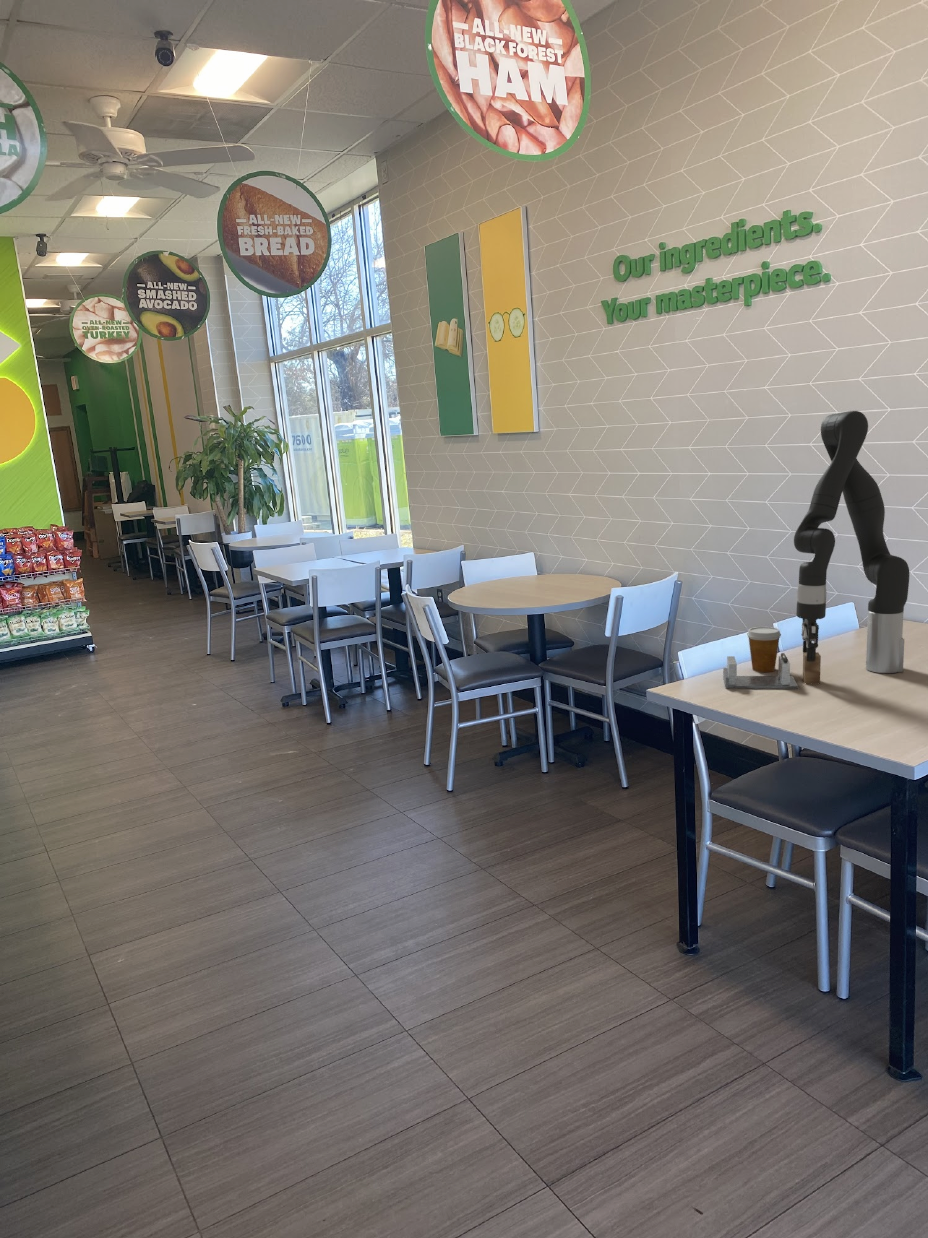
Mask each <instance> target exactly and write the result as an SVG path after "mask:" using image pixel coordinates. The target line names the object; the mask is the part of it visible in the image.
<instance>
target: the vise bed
mask: <svg viewBox="0 0 928 1238" xmlns="http://www.w3.org/2000/svg"><path fill="white" fill-rule="evenodd" d="M737 663H738V662H737V660H736V657H735V656H726V665H727V666H726V667H723V668H722V669H723V671H722V677H723V678H722V680H723V683H724V688H725V689H728V690H729V689H730V690H734V689H735V690H736V689H737V690H739V689H741V690H743V689H745V690H749V689H751V690H753V689H754V690H755V689H756V690H784V689H785V690H798V689H799V685H798V684H797V682H796V680H795V678H794V676H793V675H790V685H782V684H781V681H780V679H779V677H778V675H737V673H738V672H737V671H738V670H737V668H738V667H737V666H738V664H737Z"/></svg>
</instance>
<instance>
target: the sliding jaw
mask: <svg viewBox="0 0 928 1238" xmlns="http://www.w3.org/2000/svg"><path fill="white" fill-rule="evenodd" d="M777 670H778V673H777V676H778V677H779V679H780V681H781V684H782V685H790V676H791V663H790V661H789V659H788V657H787V655H786V654H785V652H782V653H781V654H780V655H778V669H777Z"/></svg>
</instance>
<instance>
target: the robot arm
mask: <svg viewBox="0 0 928 1238" xmlns="http://www.w3.org/2000/svg"><path fill="white" fill-rule="evenodd" d="M868 431H869V421H868V419H867V416H866V415H865V414H864V413H863V412H861V411H859V410H850V411H849V410H848V411H844V412H839V413H834V414H833V413H832V414H830V415H827V416H826V417H825V418H823V421H822V422H821V426H820V435H821V440H822V442H823V445H824V447H825V450H826V451H827V455H828V457H829V458H830V461H831V463H830V464H829V465H828V467H827V469H826V470H825V471H824V472H823V475H821V477H820V478H819V480H818V481H817V484H816V486H815V487H814V490H813V494H812V497H811V500H810V504H809V507H808V510H807V512H806V514H805V515H804V517H803V518H802V520H801V522H800V524H799V526H798V527H797V529H796V530H795V533H794V536H793V545H794V548H795V549H796V551H798V552H800V553H803V554H812V555H813V554H814V557H813V559H812V561H806V562H802V563H800V566H799V569H798V585H797V591H796V613H795V614H796V617H797V618H799V619H802V623H801V628H802V629H801V639H802V654H803V653H807V661H808V662H814V661H815V657H816V652H817V650H816V649H817V648H819V630H820V627H819V626H820V625H819V624H818V622H817V620H822V619H824V618H825V617H826V615H827V614H826V611H827V595H828V593H827V575H828V573H827V571H828V568H829V565H830V562H831V561H830V560H831V557H832V555H833V552H834V550H835V546H836V538H835V535H834V533H833V531H832V530H831V529H829V528H825V527H820V526H821V525H822V524H823V523H827V522H831V521H833V520H834V519H835V518H836V516H837V513H838V512H837V511H838V508H839V504H840V502H841V501H840V500H841V498H842V497H841V496H842V495H843V499H844V503H845V506H846V508H847V512H848V515H849V518H850V521H851V525H852V528H853V530H854V534H855V536H856V541H857V542H858V546H859V551H860V557H861V563H862V567H863V572H864V575H865V577H866V579H867V580H868V581H869V582H870V583H871V584H873V585H875V586H876V588H875V595H874V598H872V599H869V601H868V603H867V624H866V625H867V627H866V628H867V629H866V648H865V649H866V651H865V652H866V653H865V655H866V657H865V669H866V670H867V671H869V672H874V673H880V674H895V673H900V672H901V673H903V672H904V662H905V661H904V658H905V638H904V637H903V636H904V635H903V632H904V630H903V629H904V612H905V611H904V610H905V606H906V603H907V601H908V596H909V587H910V586H909V585H910V567H909V564H908V562H907V561H906V560H905V559H904V558H902V557H900V556H897V555H893V554H891V552H890V550H889V548H888V546H887V542H886V539H885V535H884V523H885V516H886V514H885V513H886V512H885V511H886V510H885V503H884V500H883V497H882V492H881V490H880V486H879V484H878V483H877V481H876V480H875V478H873V476H872V475H870V473H869V472H868V471H867V470H866V469H865V468H864V466H863V465H862V464H861V463H860V461H859V460H858V459H857V457H858V455H859V453H860V451H861V449H862V446H863V444H864V443H865V440H866V437H867V435H868Z"/></svg>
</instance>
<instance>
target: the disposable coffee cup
mask: <svg viewBox="0 0 928 1238" xmlns="http://www.w3.org/2000/svg"><path fill="white" fill-rule="evenodd" d="M746 635H747V638H748V643H749V652H750V660H751V668H752V670H753V671H754V672H759V673H771V672H774V671H775V670H776V664H777V663H776V662H777V658H778V657H777V656H778V650H779V644H780V643H779V641H780V638H781V637H782V634H781V632H780V629H778V628H777V627H771V626H756V627H750V628H749V629H748V631H747V634H746Z"/></svg>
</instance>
